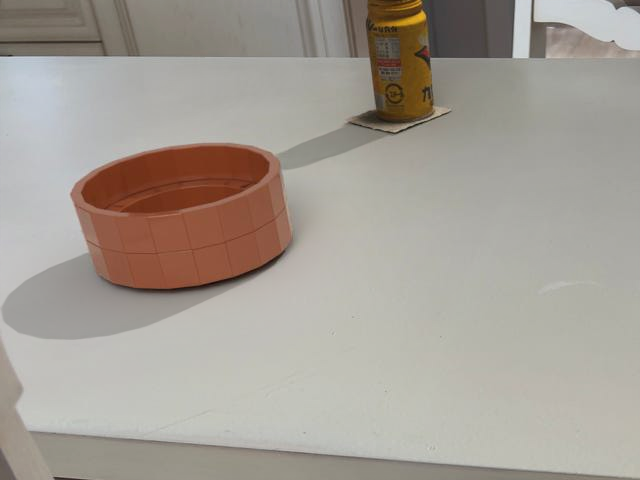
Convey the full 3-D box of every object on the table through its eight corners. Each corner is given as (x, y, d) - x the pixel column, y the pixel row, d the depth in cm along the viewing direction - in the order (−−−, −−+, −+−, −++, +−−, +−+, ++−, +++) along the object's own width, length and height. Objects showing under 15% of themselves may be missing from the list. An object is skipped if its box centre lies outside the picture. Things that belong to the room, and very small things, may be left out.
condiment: (452, 111, 105) (442, -20, 97) (395, 134, 100) (379, -2, 93) (402, 101, 109) (388, -26, 101) (345, 123, 104) (326, -9, 97)
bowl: (58, 293, 76) (30, 215, 73) (148, 213, 88) (128, 142, 84) (252, 299, 74) (234, 218, 70) (319, 215, 85) (306, 142, 81)
